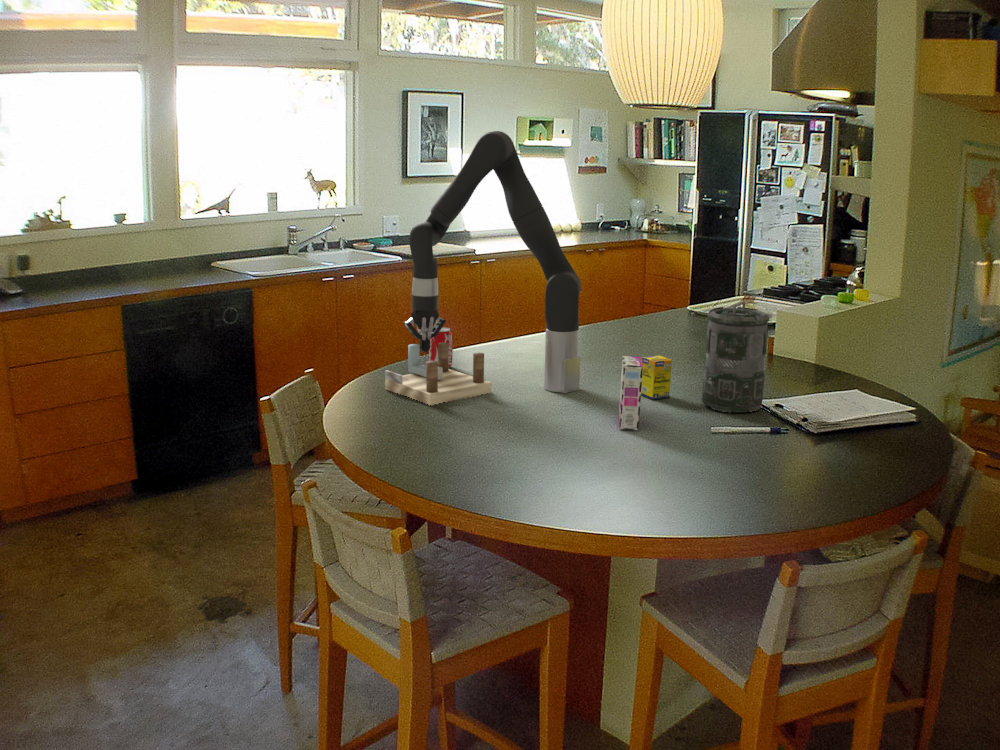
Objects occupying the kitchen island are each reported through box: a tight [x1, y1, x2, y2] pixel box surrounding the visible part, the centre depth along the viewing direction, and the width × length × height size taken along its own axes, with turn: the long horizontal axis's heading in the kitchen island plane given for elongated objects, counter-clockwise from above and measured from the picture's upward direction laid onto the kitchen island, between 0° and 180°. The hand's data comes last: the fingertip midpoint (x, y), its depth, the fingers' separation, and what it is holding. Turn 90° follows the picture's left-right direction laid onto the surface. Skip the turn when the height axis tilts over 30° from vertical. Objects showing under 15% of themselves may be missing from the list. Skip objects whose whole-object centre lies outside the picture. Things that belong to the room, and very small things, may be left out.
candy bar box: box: [618, 355, 643, 432], centre depth 240 cm, size 11×5×16 cm, turn 175°
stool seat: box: [384, 343, 492, 406], centre depth 269 cm, size 21×21×11 cm
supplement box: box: [641, 355, 673, 401], centre depth 266 cm, size 6×6×11 cm
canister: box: [701, 301, 770, 413], centre depth 256 cm, size 16×16×28 cm
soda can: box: [428, 326, 454, 368], centre depth 295 cm, size 7×7×12 cm
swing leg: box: [407, 343, 443, 380], centre depth 272 cm, size 14×3×8 cm, turn 41°
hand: (424, 351), depth 282 cm, fingers closed
